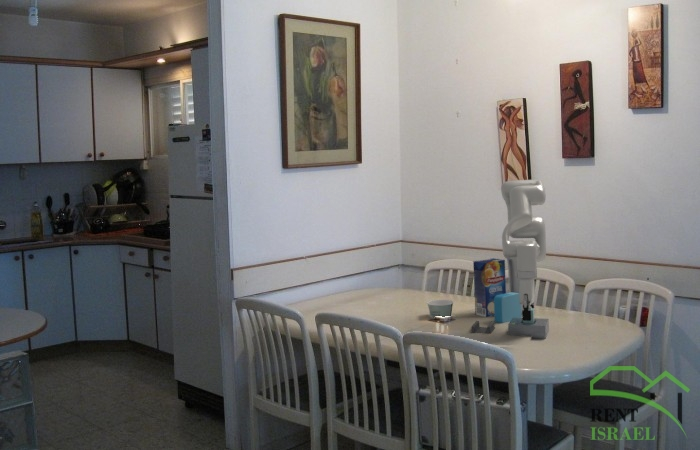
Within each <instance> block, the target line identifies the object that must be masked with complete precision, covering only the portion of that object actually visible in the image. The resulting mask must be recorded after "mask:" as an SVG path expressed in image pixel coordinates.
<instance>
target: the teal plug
mask: <svg viewBox="0 0 700 450" xmlns="http://www.w3.org/2000/svg"><path fill="white" fill-rule="evenodd" d="M534 308H535V307H534ZM534 308H532V307H530V310H531V321H523V323H534V318H535V311H534Z"/></svg>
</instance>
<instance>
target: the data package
mask: <svg viewBox="0 0 700 450" xmlns="http://www.w3.org/2000/svg"><path fill="white" fill-rule="evenodd" d="M494 314H495V316H494V322H495V323H500V324H505V323H510V321H511V320H512V318H522V314H521V305H520V304H519V293H513V292H509V291H508V292H506V293H505V294H501V295H496V296H495V297H494Z"/></svg>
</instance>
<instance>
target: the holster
mask: <svg viewBox="0 0 700 450" xmlns="http://www.w3.org/2000/svg"><path fill="white" fill-rule="evenodd" d="M495 323H496V322H495V320H494V321H493V320H492V321H491V322H489V324H488V325H487V326H480V320H475V322H474V323H472V325H471V327H470V329H471V334H492V333H494V330H495V329H496V326H495Z"/></svg>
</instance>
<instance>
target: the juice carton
mask: <svg viewBox="0 0 700 450" xmlns="http://www.w3.org/2000/svg"><path fill="white" fill-rule="evenodd" d="M505 260H506V259H501V258H487V259H480V260H473V282H474V283H473V284H474V286H473V287H474V290H473V291H474V308H475V310H474V311H475V312H474V313H475V315H477V316H481V317H484V318H489V317H493V316H494V317H495V314H494V297H495V296H496V295H501V294H505V293H507V287H506V285H507V284H506V263H505V262H506V261H505Z"/></svg>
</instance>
